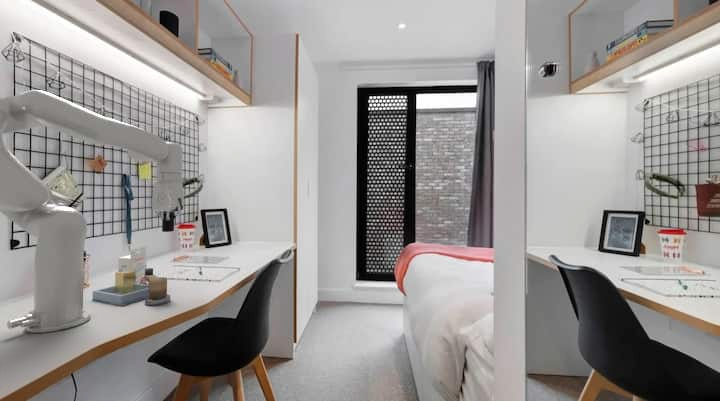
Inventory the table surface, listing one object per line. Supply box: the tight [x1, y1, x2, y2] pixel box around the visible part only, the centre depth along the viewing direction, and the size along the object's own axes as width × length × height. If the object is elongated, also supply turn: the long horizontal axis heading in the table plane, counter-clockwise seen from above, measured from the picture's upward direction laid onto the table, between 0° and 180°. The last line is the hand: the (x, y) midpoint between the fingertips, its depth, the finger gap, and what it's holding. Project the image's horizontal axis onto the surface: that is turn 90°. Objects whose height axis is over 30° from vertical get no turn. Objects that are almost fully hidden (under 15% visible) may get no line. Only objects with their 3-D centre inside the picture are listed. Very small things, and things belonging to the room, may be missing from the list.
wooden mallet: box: [144, 267, 168, 299], centre depth 107 cm, size 17×5×7 cm, turn 45°
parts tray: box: [92, 283, 149, 307], centre depth 106 cm, size 12×14×3 cm
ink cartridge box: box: [117, 246, 148, 285], centre depth 119 cm, size 9×5×15 cm, turn 179°
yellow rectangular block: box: [114, 270, 136, 295], centre depth 106 cm, size 4×4×8 cm
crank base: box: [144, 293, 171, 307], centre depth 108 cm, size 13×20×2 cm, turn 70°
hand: (168, 231), depth 109 cm, fingers closed
